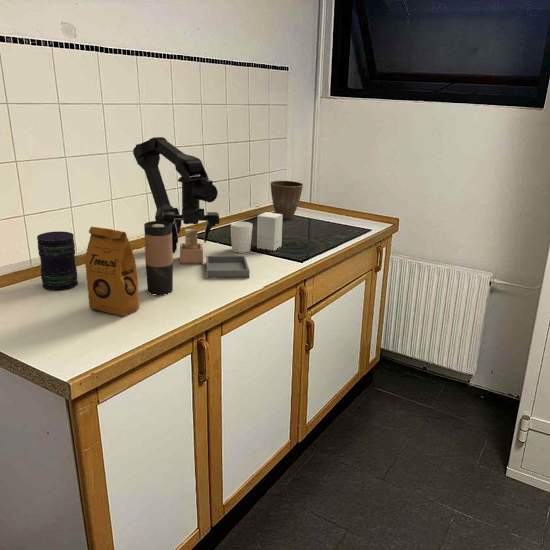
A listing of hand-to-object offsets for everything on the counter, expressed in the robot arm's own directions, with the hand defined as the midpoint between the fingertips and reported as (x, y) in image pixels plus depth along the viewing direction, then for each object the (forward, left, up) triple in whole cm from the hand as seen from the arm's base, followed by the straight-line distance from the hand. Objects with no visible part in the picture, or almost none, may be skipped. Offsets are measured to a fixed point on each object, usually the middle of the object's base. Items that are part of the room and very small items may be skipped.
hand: (191, 242), depth 181 cm
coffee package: (-20, -42, -7) cm, 47 cm away
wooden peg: (0, 0, -6) cm, 6 cm away
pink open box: (0, 0, -6) cm, 6 cm away
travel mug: (-9, -29, -7) cm, 31 cm away
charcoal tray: (+12, -11, -6) cm, 17 cm away
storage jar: (-38, -23, -7) cm, 45 cm away
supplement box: (+29, +15, -7) cm, 34 cm away
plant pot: (+43, +63, -7) cm, 77 cm away
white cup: (+18, +11, -7) cm, 22 cm away
